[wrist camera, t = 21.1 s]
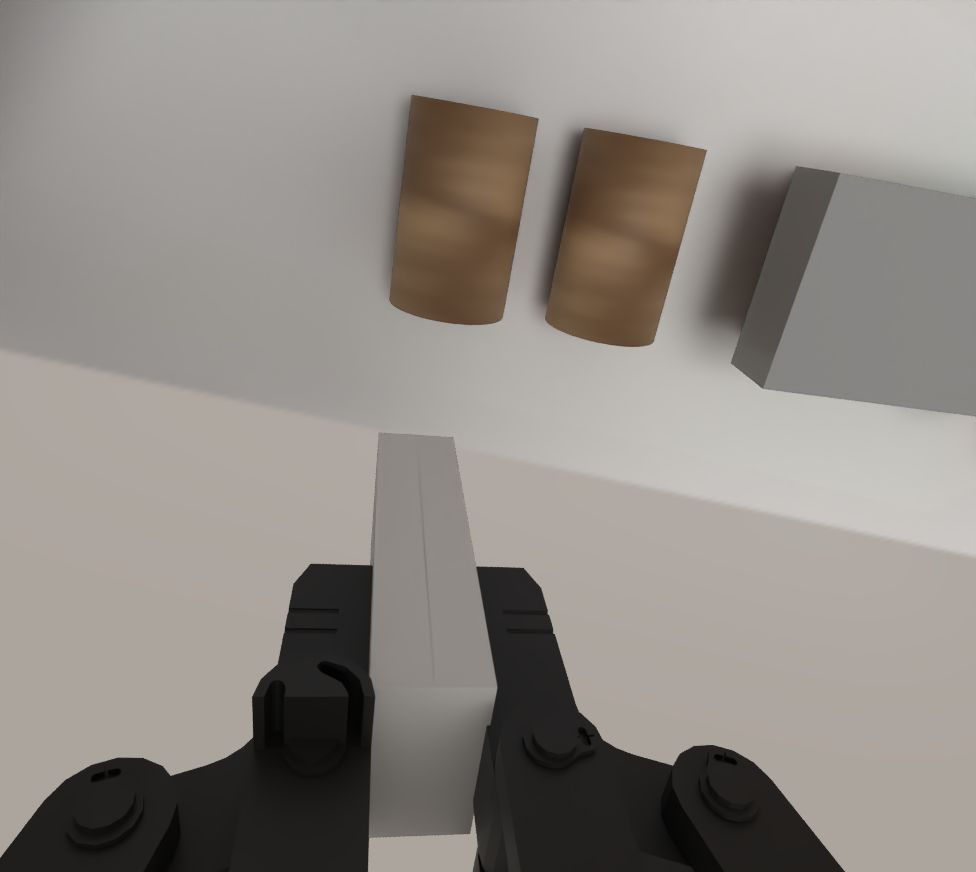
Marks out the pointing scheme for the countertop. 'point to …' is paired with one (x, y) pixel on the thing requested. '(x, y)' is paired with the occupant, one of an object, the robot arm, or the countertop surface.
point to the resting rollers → (497, 212)
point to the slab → (867, 296)
